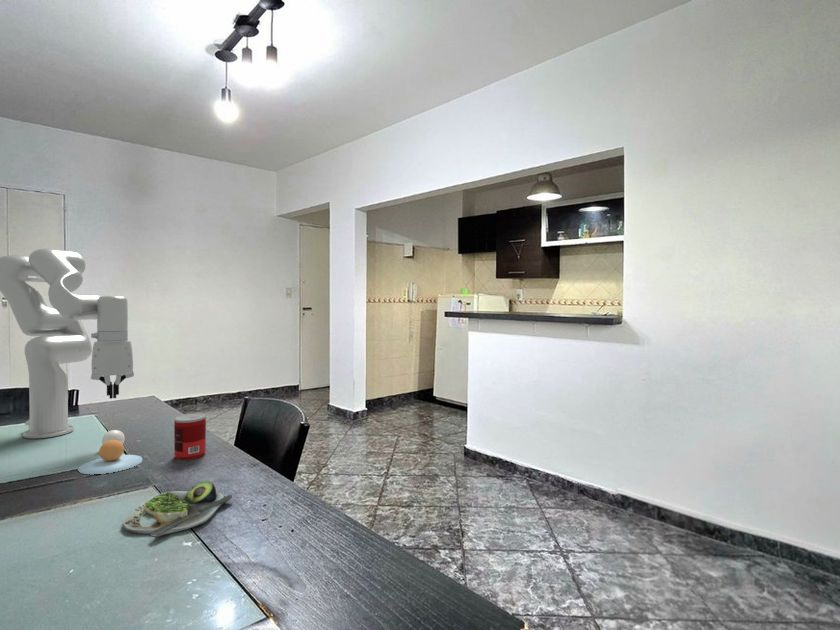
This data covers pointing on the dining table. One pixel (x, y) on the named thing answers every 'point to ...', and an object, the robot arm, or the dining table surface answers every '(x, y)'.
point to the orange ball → (111, 450)
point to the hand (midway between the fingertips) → (112, 397)
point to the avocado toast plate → (177, 510)
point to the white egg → (113, 436)
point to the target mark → (110, 465)
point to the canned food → (190, 436)
